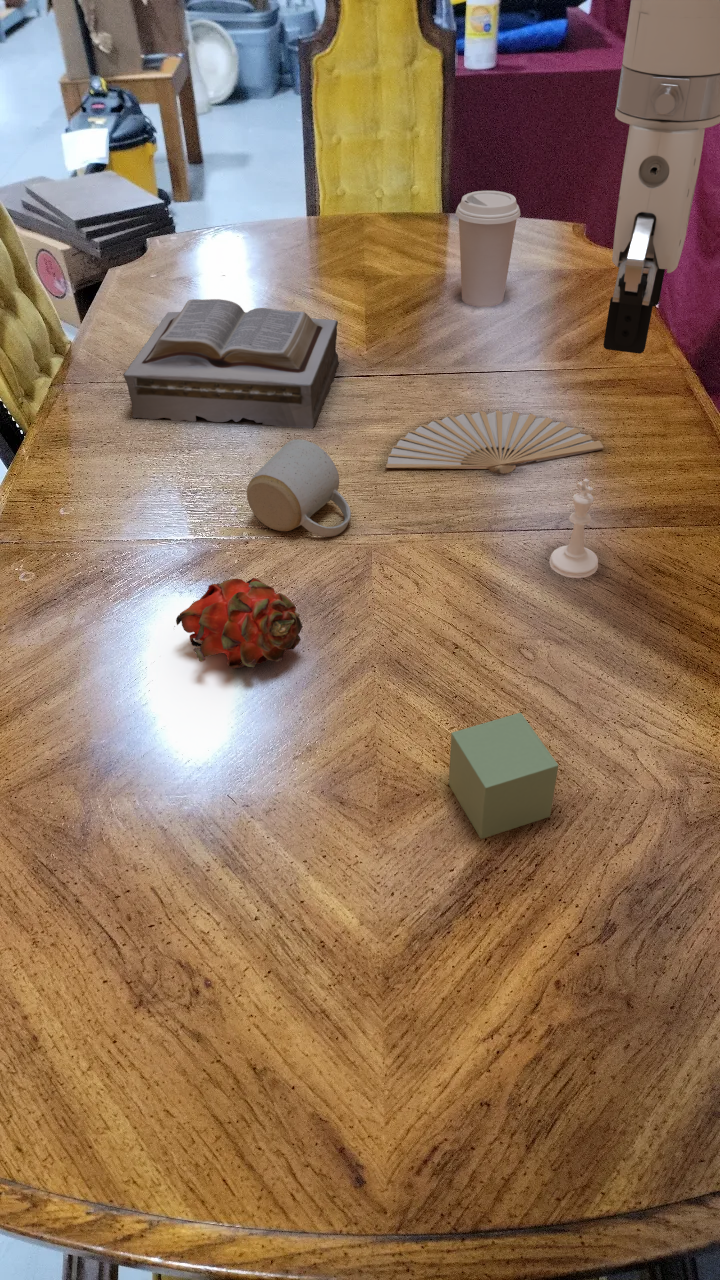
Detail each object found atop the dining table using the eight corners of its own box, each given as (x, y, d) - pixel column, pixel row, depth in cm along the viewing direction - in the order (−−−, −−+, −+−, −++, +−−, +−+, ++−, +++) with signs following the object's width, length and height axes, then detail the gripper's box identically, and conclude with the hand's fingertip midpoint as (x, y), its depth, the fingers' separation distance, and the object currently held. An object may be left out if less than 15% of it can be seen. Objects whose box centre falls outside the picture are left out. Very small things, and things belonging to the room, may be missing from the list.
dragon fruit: (313, 681, 92) (194, 678, 95) (321, 592, 94) (204, 592, 97) (282, 660, 84) (154, 657, 87) (292, 564, 86) (166, 565, 89)
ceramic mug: (244, 525, 108) (238, 464, 103) (284, 489, 114) (280, 430, 109) (327, 553, 104) (325, 491, 99) (365, 514, 110) (365, 454, 105)
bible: (189, 342, 145) (180, 275, 139) (363, 366, 138) (362, 296, 131) (107, 415, 128) (92, 343, 122) (300, 447, 121) (295, 371, 115)
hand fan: (613, 466, 116) (574, 406, 127) (614, 460, 116) (575, 400, 127) (391, 487, 114) (371, 424, 125) (391, 481, 113) (371, 418, 124)
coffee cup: (451, 287, 159) (455, 189, 149) (510, 287, 158) (518, 188, 149) (452, 311, 152) (457, 209, 142) (515, 311, 151) (524, 209, 141)
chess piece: (573, 584, 99) (586, 499, 93) (539, 561, 102) (549, 477, 96) (608, 566, 101) (623, 482, 95) (573, 544, 104) (585, 461, 98)
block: (514, 763, 81) (521, 711, 77) (550, 817, 77) (559, 765, 73) (448, 784, 80) (451, 732, 76) (480, 840, 75) (485, 787, 72)
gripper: (717, 129, 64) (666, 377, 75) (733, 72, 76) (687, 292, 87) (599, 121, 66) (567, 363, 77) (633, 67, 78) (602, 283, 89)
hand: (631, 325), depth 82 cm, fingers open, 9 cm apart
